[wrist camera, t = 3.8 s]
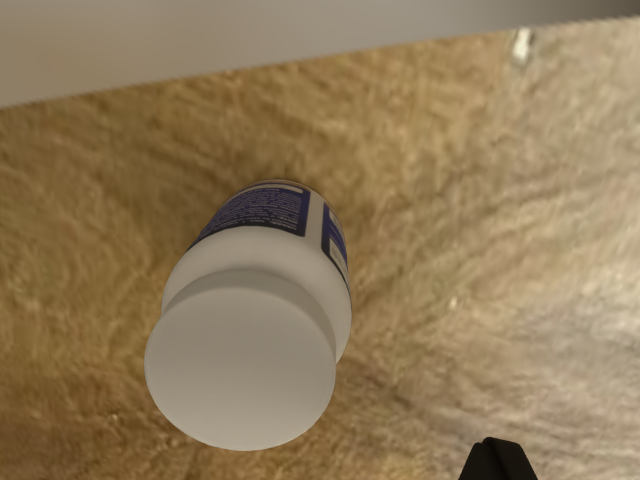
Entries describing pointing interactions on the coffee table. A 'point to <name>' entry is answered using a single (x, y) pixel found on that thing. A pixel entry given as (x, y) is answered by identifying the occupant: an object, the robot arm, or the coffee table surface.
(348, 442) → the coffee table surface
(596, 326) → the coffee table surface
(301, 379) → the pill bottle
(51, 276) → the coffee table surface
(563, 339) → the coffee table surface
